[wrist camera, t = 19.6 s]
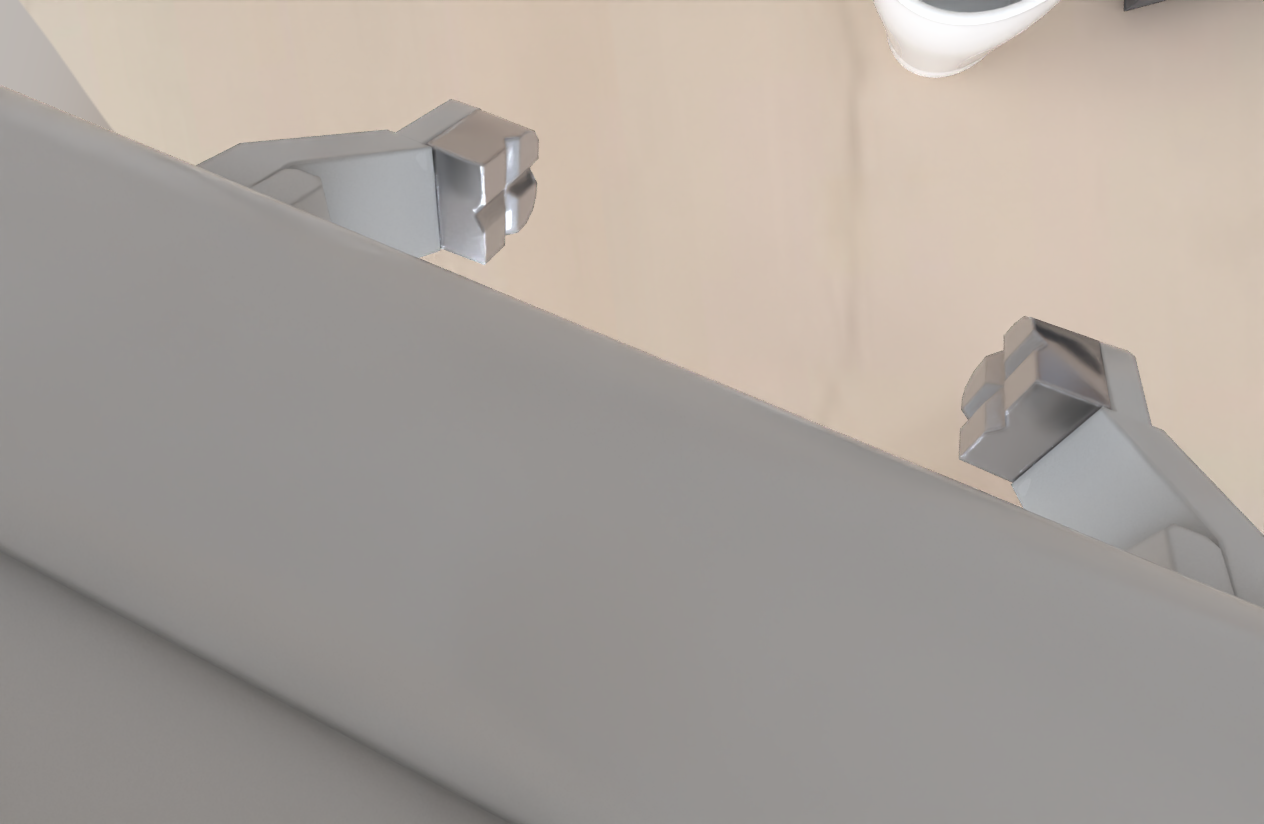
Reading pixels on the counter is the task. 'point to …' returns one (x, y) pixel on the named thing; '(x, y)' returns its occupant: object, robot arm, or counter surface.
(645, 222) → the counter surface
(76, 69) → the counter surface
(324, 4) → the counter surface
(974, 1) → the white tall cup
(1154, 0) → the baking tray
